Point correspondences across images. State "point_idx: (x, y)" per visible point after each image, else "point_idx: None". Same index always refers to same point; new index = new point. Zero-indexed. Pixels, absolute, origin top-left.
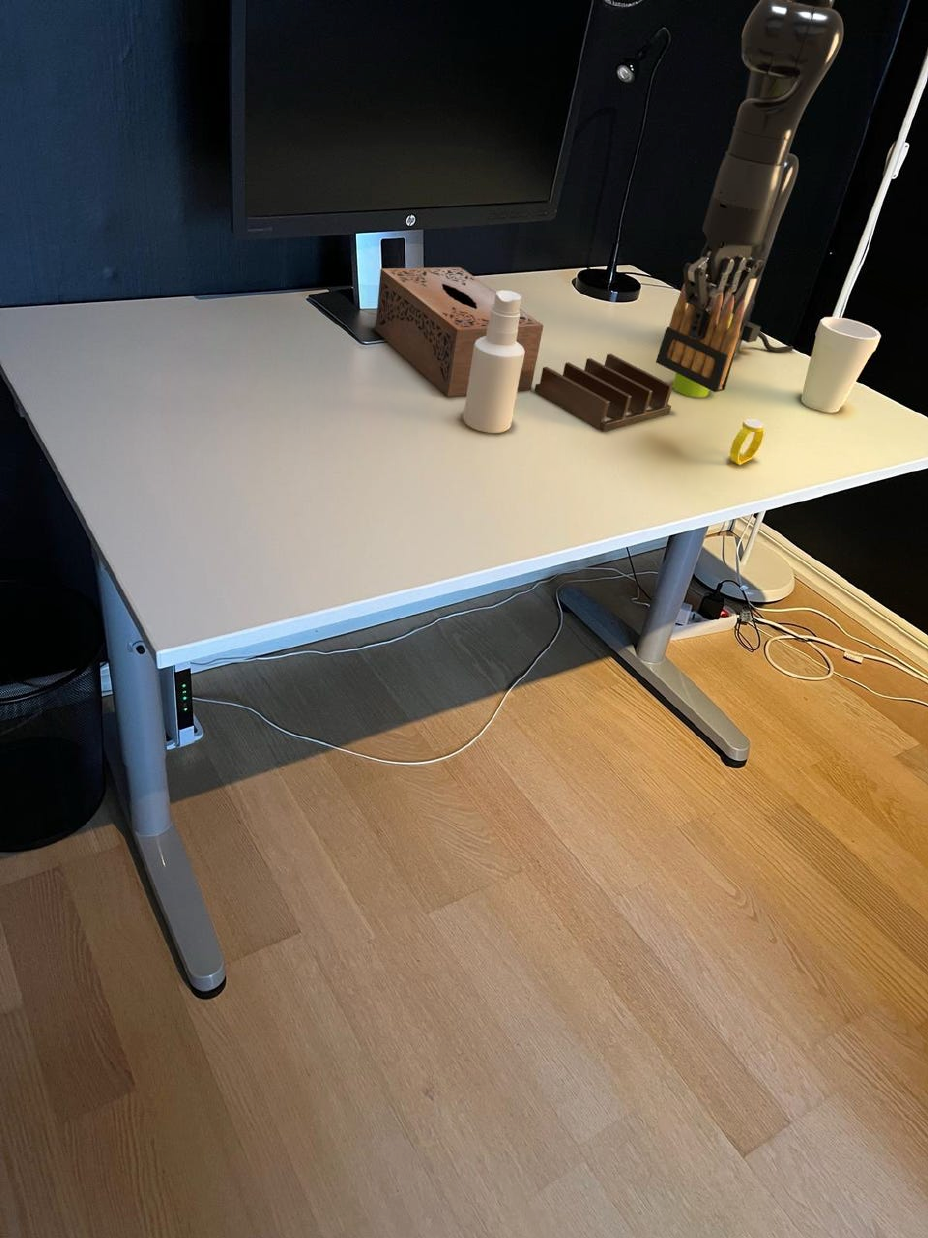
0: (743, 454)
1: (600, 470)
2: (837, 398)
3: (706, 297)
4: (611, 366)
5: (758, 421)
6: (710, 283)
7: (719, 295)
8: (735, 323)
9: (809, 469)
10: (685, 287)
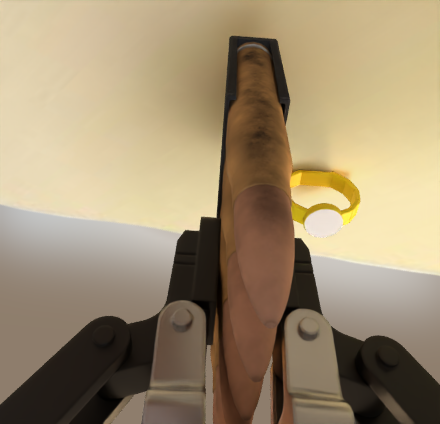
0: (330, 175)
1: (27, 67)
2: None
3: (109, 420)
4: None
5: (341, 224)
6: (292, 403)
7: (225, 421)
8: (213, 393)
9: (383, 237)
10: (3, 403)
